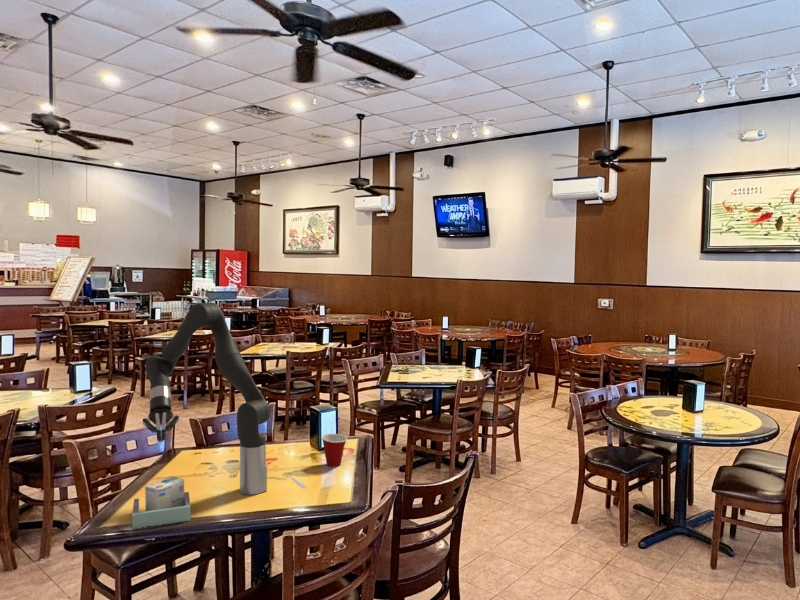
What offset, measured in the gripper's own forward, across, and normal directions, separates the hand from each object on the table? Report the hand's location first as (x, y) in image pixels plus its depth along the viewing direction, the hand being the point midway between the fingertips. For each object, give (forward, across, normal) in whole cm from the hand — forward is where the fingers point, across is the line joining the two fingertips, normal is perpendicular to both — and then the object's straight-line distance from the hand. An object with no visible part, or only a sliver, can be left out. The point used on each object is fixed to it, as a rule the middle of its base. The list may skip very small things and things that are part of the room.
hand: (161, 440), depth 202 cm
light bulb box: (+28, +1, +1) cm, 28 cm away
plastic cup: (+9, +67, +19) cm, 70 cm away
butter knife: (+15, +46, +14) cm, 51 cm away
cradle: (+28, 0, 0) cm, 28 cm away
